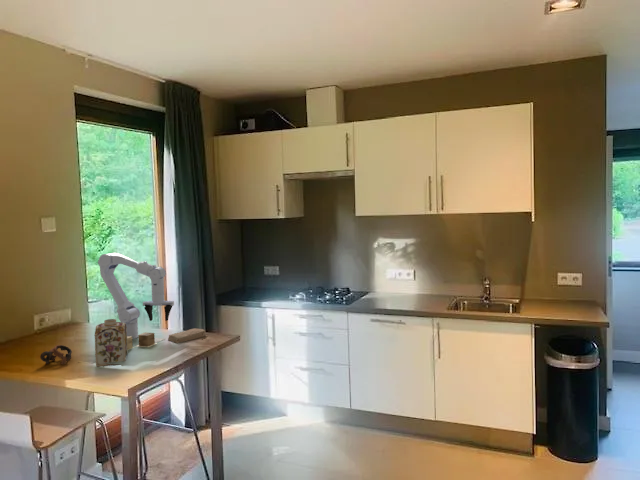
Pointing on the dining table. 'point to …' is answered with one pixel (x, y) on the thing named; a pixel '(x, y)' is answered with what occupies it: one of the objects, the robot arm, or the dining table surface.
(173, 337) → the brick
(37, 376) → the dining table surface
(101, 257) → the robot arm
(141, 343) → the walnut block
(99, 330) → the decorative jar
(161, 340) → the pad
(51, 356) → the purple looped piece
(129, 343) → the oak block
